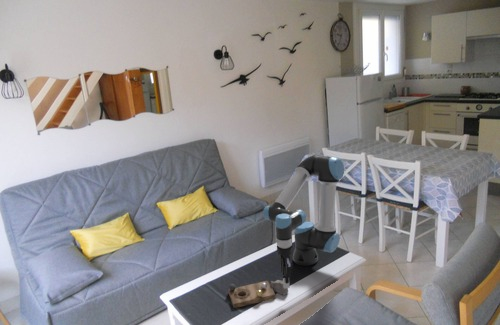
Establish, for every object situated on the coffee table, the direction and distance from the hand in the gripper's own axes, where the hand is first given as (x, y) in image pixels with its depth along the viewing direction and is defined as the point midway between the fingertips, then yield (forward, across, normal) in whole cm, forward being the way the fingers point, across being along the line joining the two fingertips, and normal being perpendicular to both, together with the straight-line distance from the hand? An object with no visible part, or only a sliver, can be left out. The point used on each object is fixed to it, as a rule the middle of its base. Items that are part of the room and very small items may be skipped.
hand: (286, 287), depth 191 cm
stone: (+8, -10, 0) cm, 12 cm away
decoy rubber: (+4, -15, -25) cm, 30 cm away
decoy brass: (+4, -5, -13) cm, 15 cm away
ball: (+4, -10, -9) cm, 14 cm away
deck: (+8, -10, -16) cm, 21 cm away
